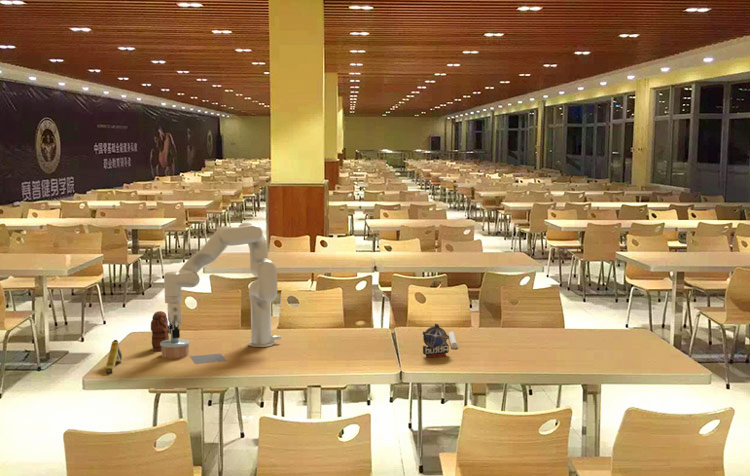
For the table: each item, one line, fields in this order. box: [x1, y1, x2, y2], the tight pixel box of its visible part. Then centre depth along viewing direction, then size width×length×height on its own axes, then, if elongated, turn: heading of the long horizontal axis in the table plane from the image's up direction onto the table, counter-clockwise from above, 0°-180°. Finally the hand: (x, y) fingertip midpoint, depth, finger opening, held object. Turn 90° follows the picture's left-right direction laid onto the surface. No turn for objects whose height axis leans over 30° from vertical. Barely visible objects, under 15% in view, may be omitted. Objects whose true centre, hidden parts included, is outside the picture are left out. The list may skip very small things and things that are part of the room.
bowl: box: [160, 344, 190, 360], centre depth 381 cm, size 12×12×6 cm
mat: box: [189, 353, 228, 365], centre depth 375 cm, size 14×14×1 cm
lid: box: [160, 329, 190, 348], centre depth 380 cm, size 13×13×7 cm
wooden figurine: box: [150, 310, 170, 352], centre depth 394 cm, size 12×6×18 cm, turn 175°
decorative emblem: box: [422, 323, 450, 359], centre depth 377 cm, size 12×2×15 cm, turn 108°
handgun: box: [105, 339, 123, 374], centre depth 361 cm, size 2×19×12 cm
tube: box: [447, 331, 458, 349], centre depth 405 cm, size 3×3×25 cm
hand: (174, 335), depth 380 cm, fingers open, 9 cm apart
